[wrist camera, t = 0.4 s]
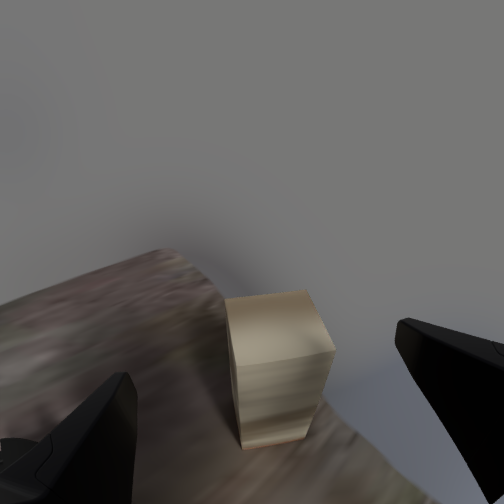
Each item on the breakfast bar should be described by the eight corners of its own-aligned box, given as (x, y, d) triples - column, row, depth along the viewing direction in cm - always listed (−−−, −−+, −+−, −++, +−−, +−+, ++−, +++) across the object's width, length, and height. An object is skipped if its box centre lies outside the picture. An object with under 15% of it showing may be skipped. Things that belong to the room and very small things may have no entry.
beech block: (304, 438, 20) (336, 349, 14) (242, 450, 19) (236, 366, 13) (289, 391, 24) (306, 289, 18) (233, 399, 23) (224, 298, 17)
